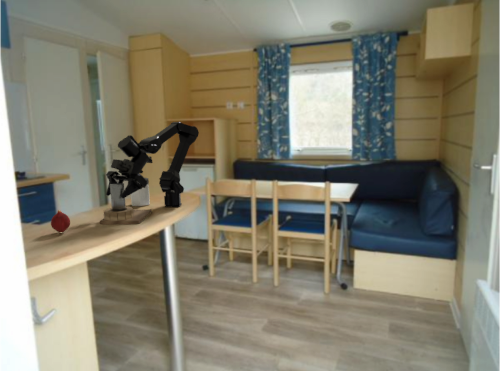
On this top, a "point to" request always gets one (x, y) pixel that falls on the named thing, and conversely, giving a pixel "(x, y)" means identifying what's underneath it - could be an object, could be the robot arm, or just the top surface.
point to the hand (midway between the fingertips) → (114, 196)
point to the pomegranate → (60, 222)
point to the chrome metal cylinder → (117, 197)
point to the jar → (141, 196)
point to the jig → (125, 216)
